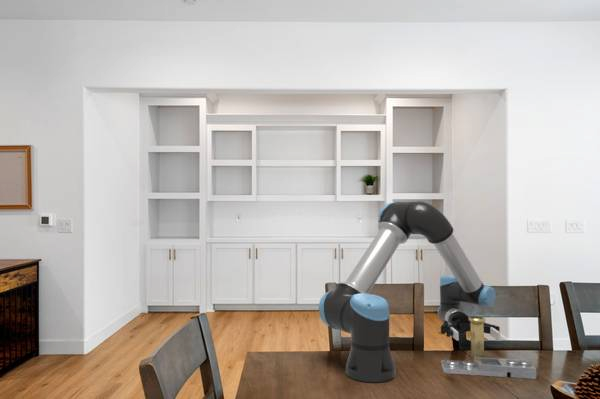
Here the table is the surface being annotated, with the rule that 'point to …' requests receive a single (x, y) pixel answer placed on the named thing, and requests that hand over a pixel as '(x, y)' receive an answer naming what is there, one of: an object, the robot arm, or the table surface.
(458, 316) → the robot arm
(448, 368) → the chain end
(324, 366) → the table surface
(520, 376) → the chain end
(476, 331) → the brass pin
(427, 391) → the table surface
